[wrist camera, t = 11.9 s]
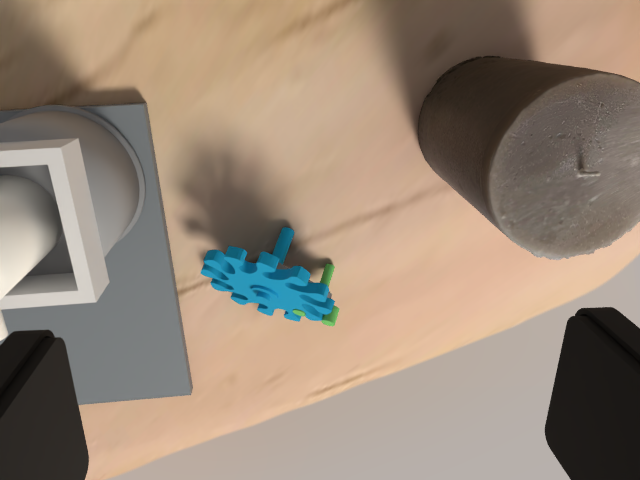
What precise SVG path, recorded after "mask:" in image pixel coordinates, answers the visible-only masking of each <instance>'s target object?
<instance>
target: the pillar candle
mask: <svg viewBox="0 0 640 480" xmlns="http://www.w3.org/2000/svg"><path fill="white" fill-rule="evenodd" d="M418 136H419V143H420V147H421V150H422V153H423V155H424V158H425V160H426V161H427V163H428V164H429V165H430V167H431V168H432V169H433V170H434V171H435V173H437V174H438V175H439V176H440V177H441V178H442V179H443V180H445V181H446V182H447V183H448V184H449V185H450V186H451V187H452V188H453V189H454V190H456V191H457V192H458V193H459V194H460V195H461V196H462V197H463V198H465V199H466V200H467V201H468V202H469V203H470V204H471V205H472V206H474V207H475V208H476V209H477V210H478V211H479V212H480V213H481V214H482V215H484V216H485V217H486V218H487V219H488V220H489V221H490V222H491V223H492V224H493V225H495V226H496V227H497V228H498V229H499V230H500V231H501V232H502V233H504V234H505V235H506V236H507V237H508V238H509V239H510V240H512V241H513V242H514V243H516V244H517V245H519V246H520V247H522V248H524V249H526V250H527V251H529V252H531V253H532V254H533V255H534V256H536V257H540V258H541V257H546V258H548V259H554V260H560V259H562V258H566V259H568V258H570V257H572V256H577V255H584V254H591V253H594V251H595V250H597V249H600V248H605V247H607V246H610V245H611V244H612V243H613V242H614V241H616V240H617V239H619V238H620V237H622V236H623V235H624V234H625V233H626V232H629V231H631V230H632V228H633V227H635V226H636V224H637V223H638V222H640V83H639V82H637V81H635V80H632V79H630V78H627V77H624V76H622V75H618V74H614V73H608V72H603V71H598V70H592V69H587V68H579V67H572V66H566V65H558V64H550V63H544V62H538V61H530V60H518V59H508V58H502V57H499V56H485V57H483V58H482V57H476V58H472V59H470V60H466V61H464V62H462V63H460V64H458V65H456V66H454V67H452V68H451V69H450V70H448V71H447V72H446V73H444V74H443V75H442V76H441V77H440V78H439V79H438V80H437V83H436V84H435V86H434V87H433V88H432V91H431V92H430V93H429V94H428V95H427V97H426V98H425V101H424V104H423V106H422V109H421V113H420V117H419V124H418Z"/></svg>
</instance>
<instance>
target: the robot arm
mask: <svg viewBox="0 0 640 480" xmlns="http://www.w3.org/2000/svg"><path fill="white" fill-rule="evenodd" d="M545 436H546V440H547V443H548V445H549V447H550V449H551V451H552V452H553V454H554V455H555V457H556V458H557V460H558V461H559V463H560V464H561V465H562V467H563V469H564V470H565V471H566V473H567V474H568V476H569V477H570V479H571V480H640V328H638V327H637V326H636V325H635V324H634V323H632V322H631V321H630V320H629V319H627V318H626V317H625V316H624V315H623V314H621V313H620V312H619V311H617V310H616V309H614V308H612V307H603V308H581V309H580V310H578V311H577V313H576V314H575V316H572V317H570V318H569V320H568V322H567V325H566V330H565V335H564V339H563V344H562V349H561V354H560V358H559V363H558V368H557V373H556V377H555V382H554V387H553V392H552V396H551V401H550V406H549V411H548V416H547V420H546V425H545ZM88 463H89V456H88V450H87V445H86V440H85V435H84V431H83V426H82V421H81V416H80V411H79V407H78V402H77V397H76V392H75V388H74V383H73V378H72V373H71V369H70V364H69V359H68V354H67V349H66V345H65V342H64V340H63V338H61V337H55V336H54V334H53V332H52V331H50V330H25V331H13V332H12V333H11V334H10V335H9V336H8V337H7V338H6V339H5V341H4V342H3V343H2V344H1V345H0V480H85V477H86V474H87V470H88Z"/></svg>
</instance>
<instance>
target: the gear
mask: <svg viewBox="0 0 640 480" xmlns="http://www.w3.org/2000/svg"><path fill="white" fill-rule="evenodd" d="M293 236H294V231H293V230H292V229H290V228H287V227H284V228H282V230H281V233H280V235H279V238H278V241H277V243H276V246H275V248H274V251H273V254H269V253H267V252H261V253H260V256H259V258H258V261H257V263H250V262H247V261H245V257H246V255H247V252H246V251H245V250H244V249H242V248H238V247H233V246H229V247H228V249H227V252H226V254H224V253H222V252H221V251H219V250H210V251H208V252H207V254H206V256H205V259H204V263H205V264H204V266H203V268H202V270H201V274H203V275H204V276H207V277H211V278H213V279H212V281H211V285H212V287H213V288H214V289H216V290H219V291H229V292H233V293H232V295H231V299H232V300H234V301H235V302H237V303H239V304H242V305H245V304H246V303H251V302H252V303H259V306H258V308H257V310H258V311H260V312H262V313H264V314H267V315H269V316H271V315H273V312H274V309H277V308H279V309H283V310H286V311H285V314H284V317H285V318H287V319H290V320H294V321H300V318H301V316H306V318H308V319H310V320H314V321H320V320H322V323H323V324H325V325H328V326H334V325H335V322H336V319H337V315H338V312H339V308H338V307H336V306H334V302H335V301H334V300H332V299H331V296H332V294H331V293H330V292H329V288H328V287H329V283H330V280H331V277H332V274H333V271H334V268H335V267H334V266H333V265H331V264H326V266H325V269H324V272H323V275H322V278H321V281H320V283H313V282H312V281H310V280H309V278H310V275H311V274H310V273H309V272H308V271H307V270H306V269H304V268H303V267H301V266H293V267H292V268H290V269H289V268H287V267H286V266H284V265H283V263H284V260H285V257H286V255H287V252H288V249H289V247H290V244H291V241H292V238H293Z"/></svg>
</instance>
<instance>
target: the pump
mask: <svg viewBox="0 0 640 480" xmlns="http://www.w3.org/2000/svg"><path fill="white" fill-rule="evenodd" d="M62 231H63V225H62V221H61V217H60V213H59V209H58V205H57V203H56V201H55V199H54V198H53V197H52V196H51V194H50V193H49V192H48V191H47V190H45V189H44V188H43V187H42V186H40V185H39V184H37V183H35V182H33V181H31V180H29V179H26V178H24V177H20V176H14V175H1V176H0V300H1V299H2V298H3V297H4V296H5V295H6V294H7V293H8V292H9V291H10V290H11V289H12V288H13V287H14V286H15V285H16V284H17V283H18V282H19V281H20V280H21V279H22V278H23V277H24V276H25V275H26V274H27V273H28V272H30V271H31V270H32V269H33V268H34V267H35V266H36V265H37V264H38V263H39V262H40V261H41V260H42V259H43V258H44V257H45V256H46V255H47V254H48V253H49V252H50V251H51V250H52V249H53V248H54V247H55V246H56V245H57V243H58V242H59V240H60V237H61V235H62ZM7 335H8V331H7V328H6V324H5V321H4V318H3V315H2V312H1V308H0V341H1V340H3V339H4V338H6V337H7Z"/></svg>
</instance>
